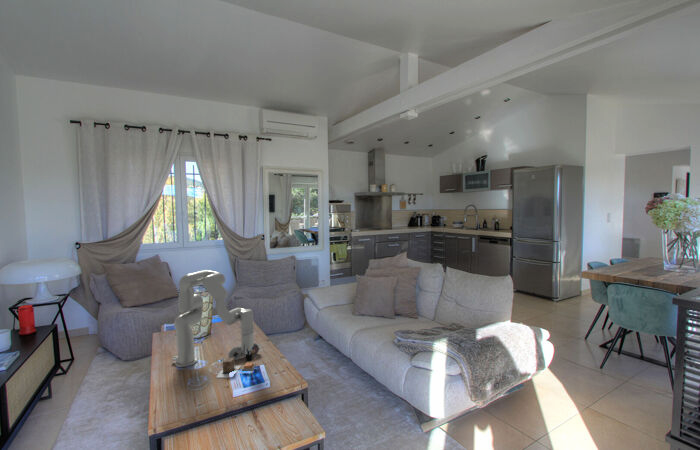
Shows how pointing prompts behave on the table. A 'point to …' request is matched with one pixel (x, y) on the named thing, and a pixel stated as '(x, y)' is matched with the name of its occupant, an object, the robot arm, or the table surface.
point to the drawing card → (226, 375)
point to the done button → (248, 365)
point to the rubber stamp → (228, 365)
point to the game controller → (237, 352)
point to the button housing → (249, 368)
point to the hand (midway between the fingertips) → (249, 360)
